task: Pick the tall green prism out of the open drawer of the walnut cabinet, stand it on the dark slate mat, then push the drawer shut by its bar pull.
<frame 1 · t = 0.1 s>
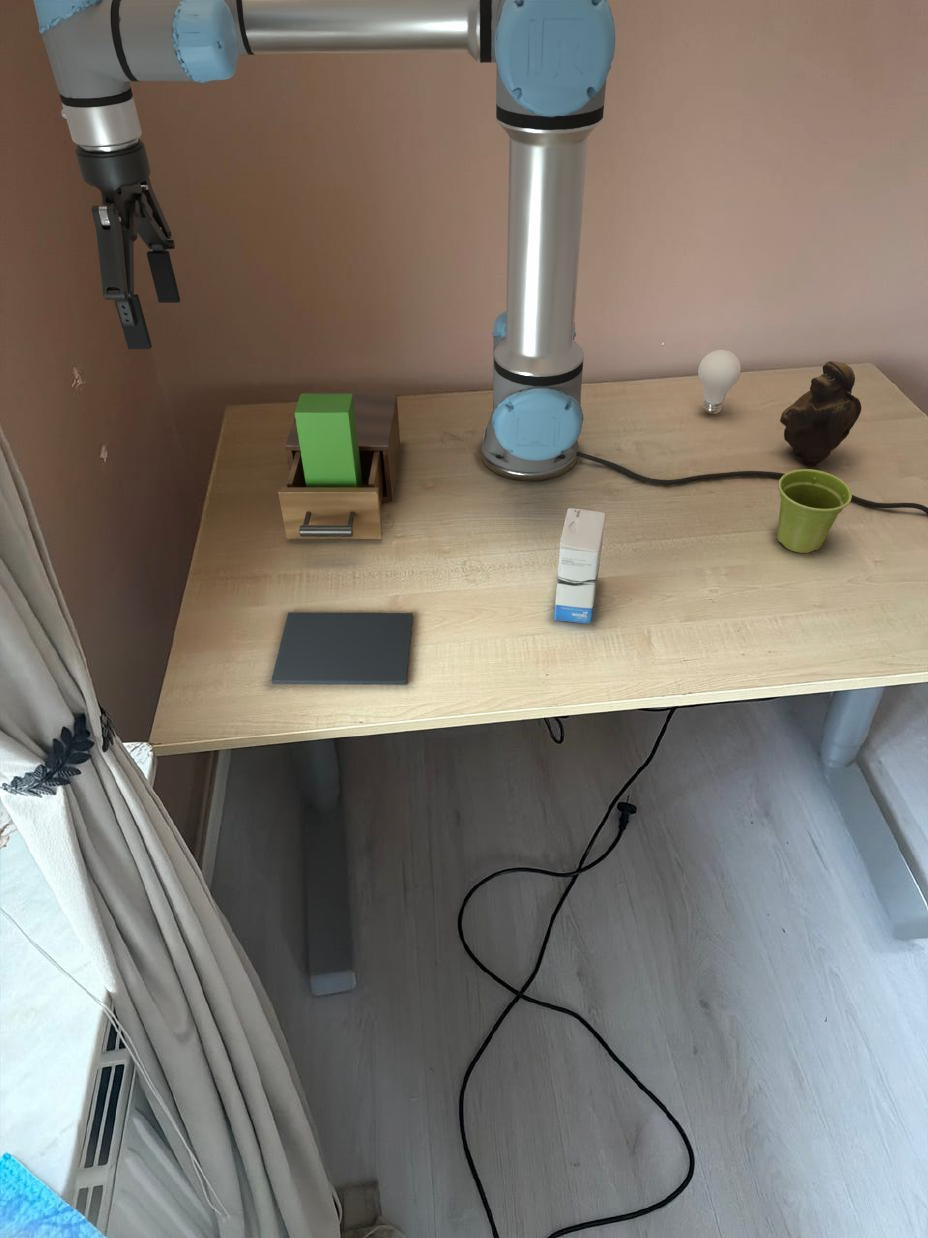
hand: (155, 323, 115), 28 cm above the table, tool pointing down, fingers open, 13 cm apart
ink box: (575, 602, 116), on the table
cabinet: (349, 472, 139), on the table
tall green prism: (338, 509, 129), point 2 cm above the table, touching drawer
light bulb: (710, 413, 151), on the table
drawer: (335, 495, 126), point 5 cm above the table, slide at 9.0 cm, touching tall green prism
plant pot: (799, 541, 125), on the table
sculpture: (810, 459, 140), on the table
slate mat: (345, 648, 110), on the table
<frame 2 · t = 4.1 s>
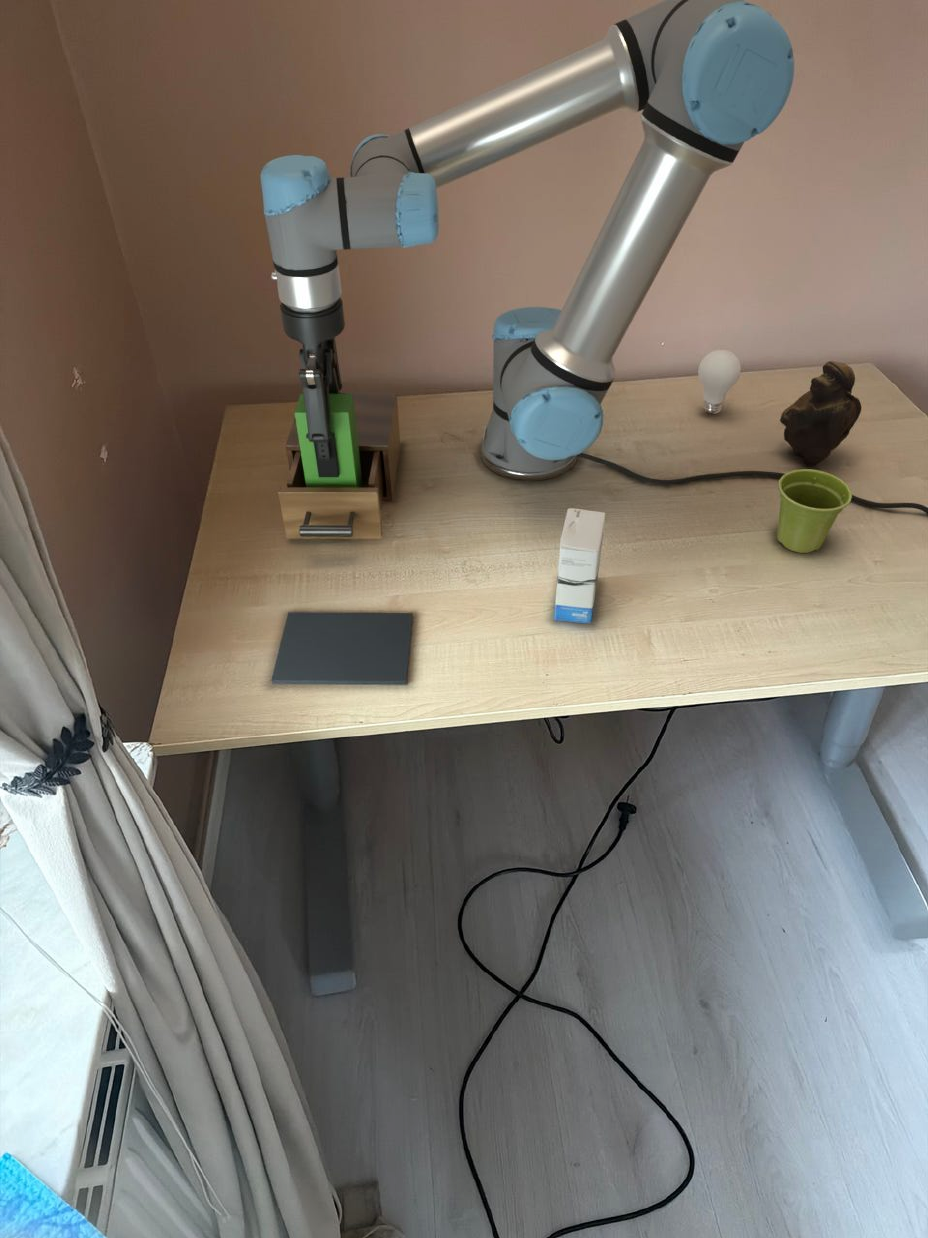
hand: (332, 459, 124), 10 cm above the table, tool pointing down, fingers open, 7 cm apart
nothing on the table moved.
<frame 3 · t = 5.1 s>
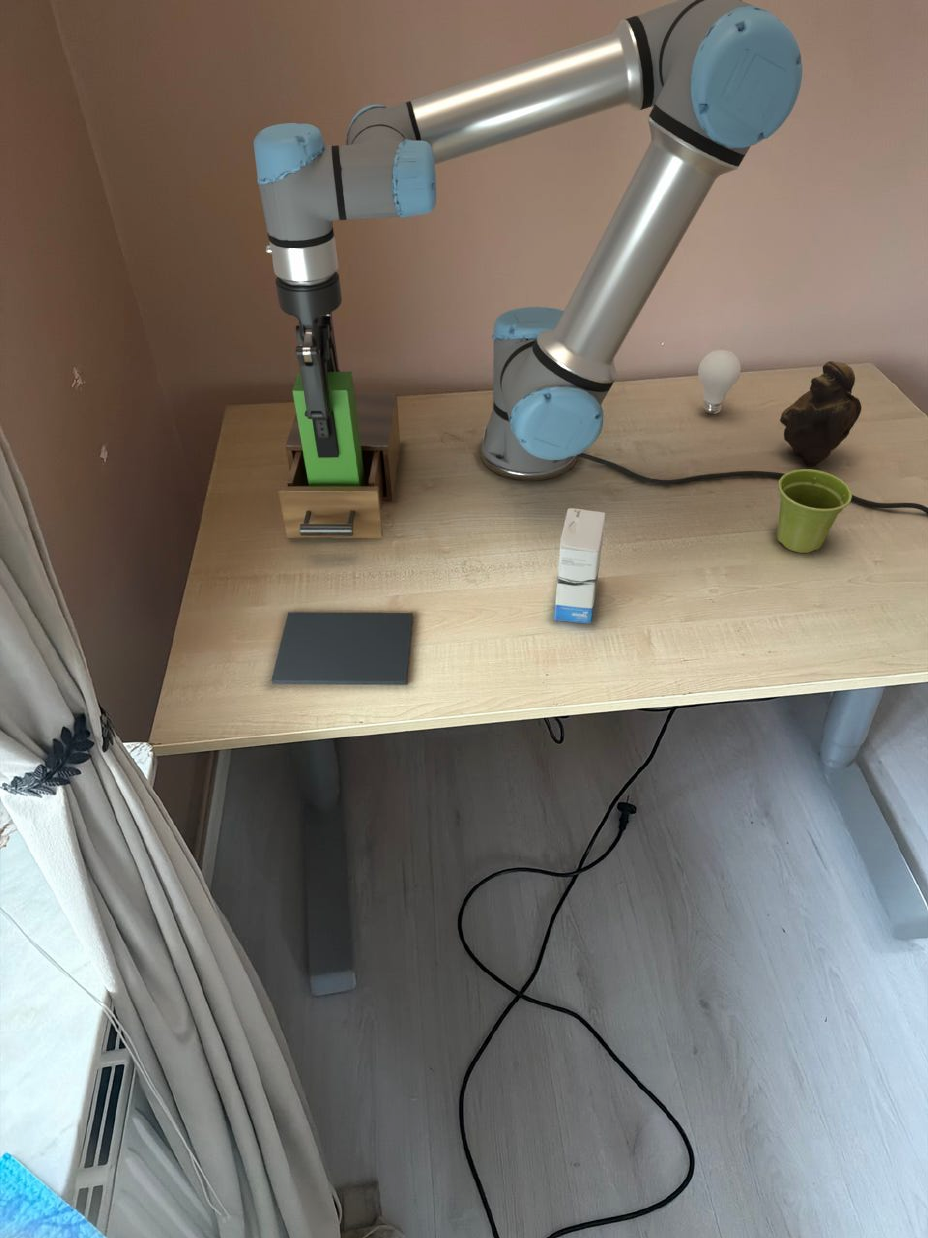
hand: (331, 444, 121), 13 cm above the table, tool pointing down, fingers closed on tall green prism, 5 cm apart
tall green prism: (338, 490, 127), point 5 cm above the table, touching gripper
drawer: (335, 494, 127), point 5 cm above the table, slide at 8.7 cm
everything else where it was.
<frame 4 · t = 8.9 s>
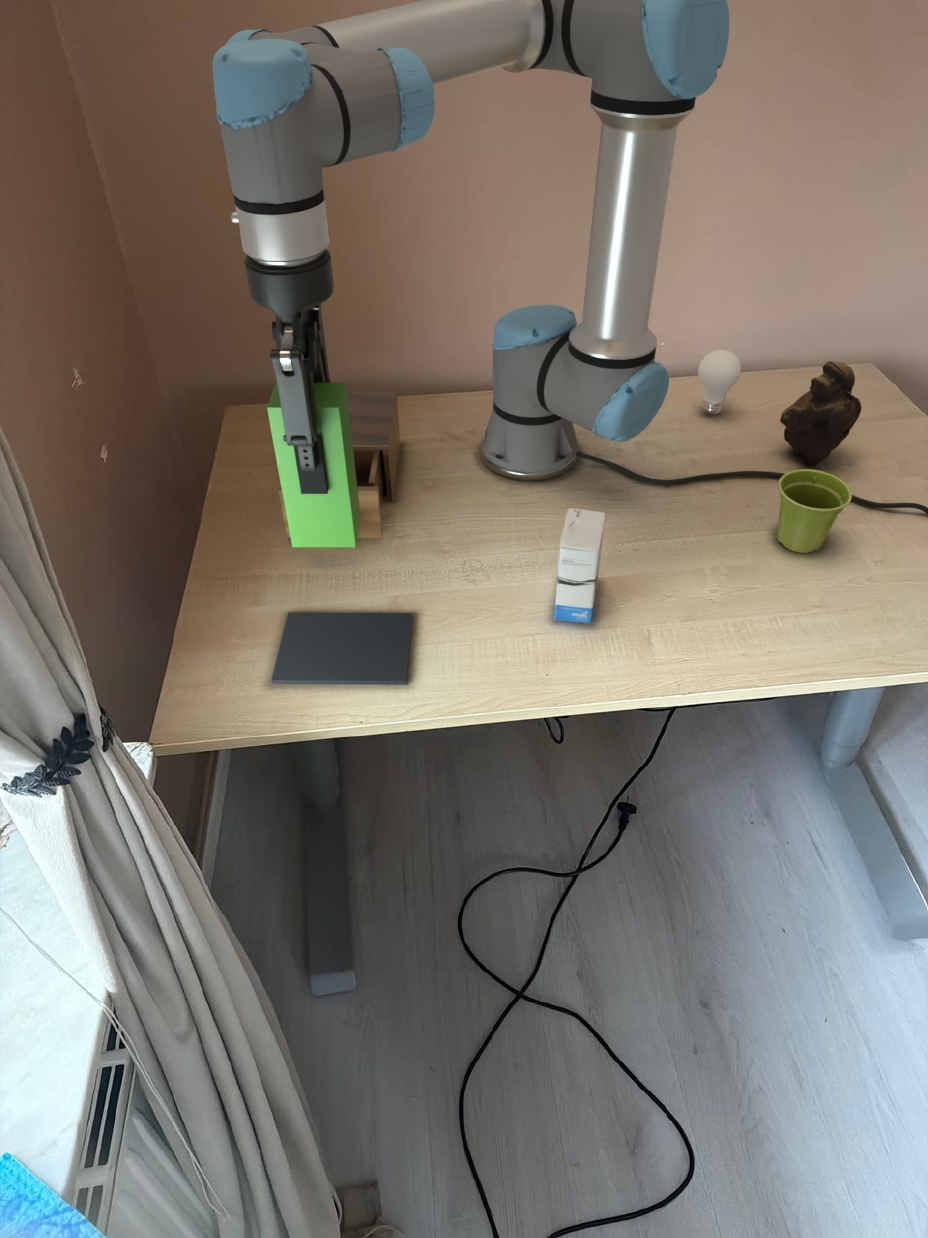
hand: (318, 475, 94), 25 cm above the table, tool pointing down, fingers closed on tall green prism, 5 cm apart
tall green prism: (327, 533, 99), point 17 cm above the table, touching gripper
everything else where it was.
when the fingers open (8 cm above the table, at t = 12.7 s): tall green prism stays where it is, resting on slate mat.
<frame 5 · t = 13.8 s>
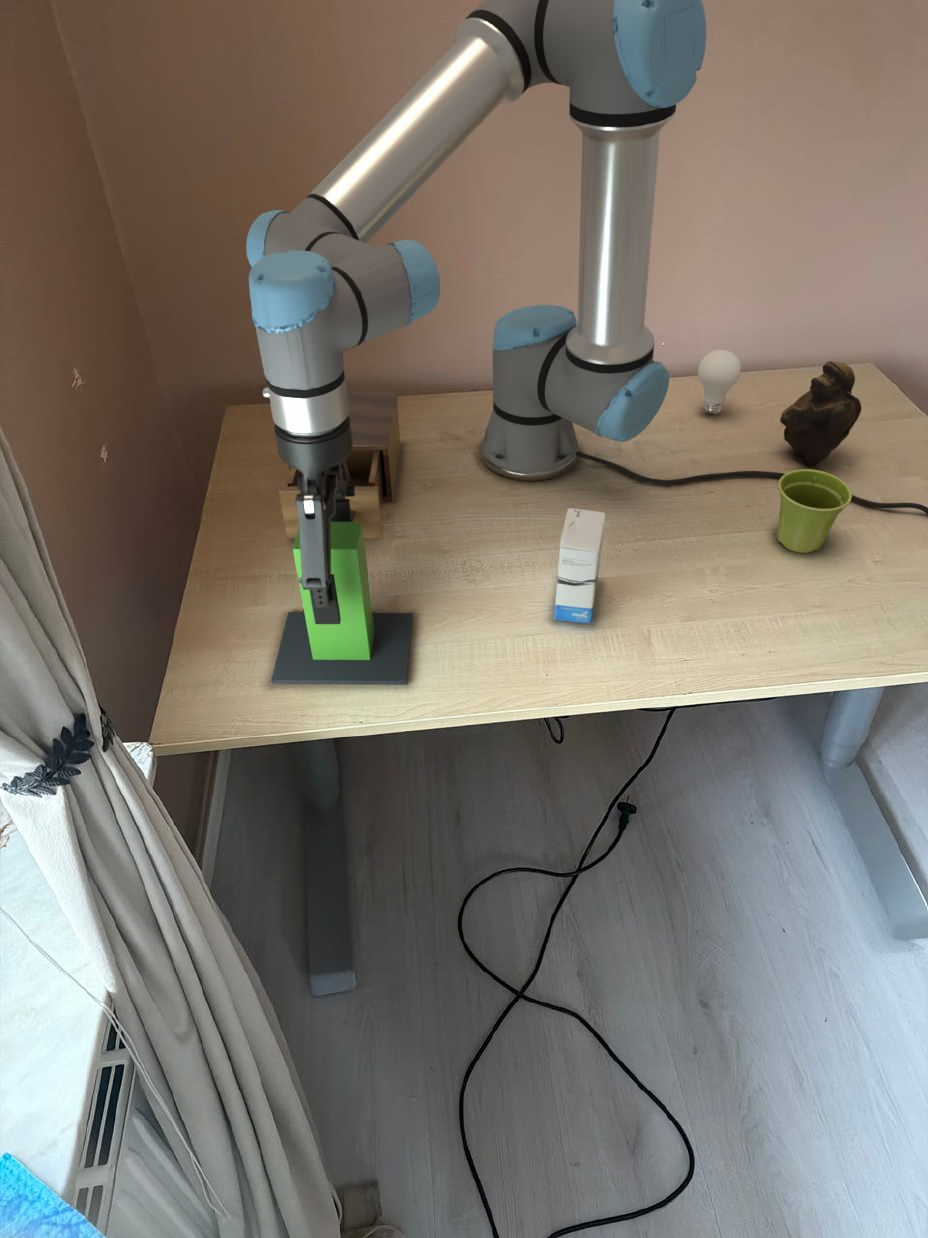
hand: (336, 582, 103), 11 cm above the table, tool pointing down, fingers open, 13 cm apart
tall green prism: (344, 645, 110), point 1 cm above the table, touching slate mat
everything else where it was.
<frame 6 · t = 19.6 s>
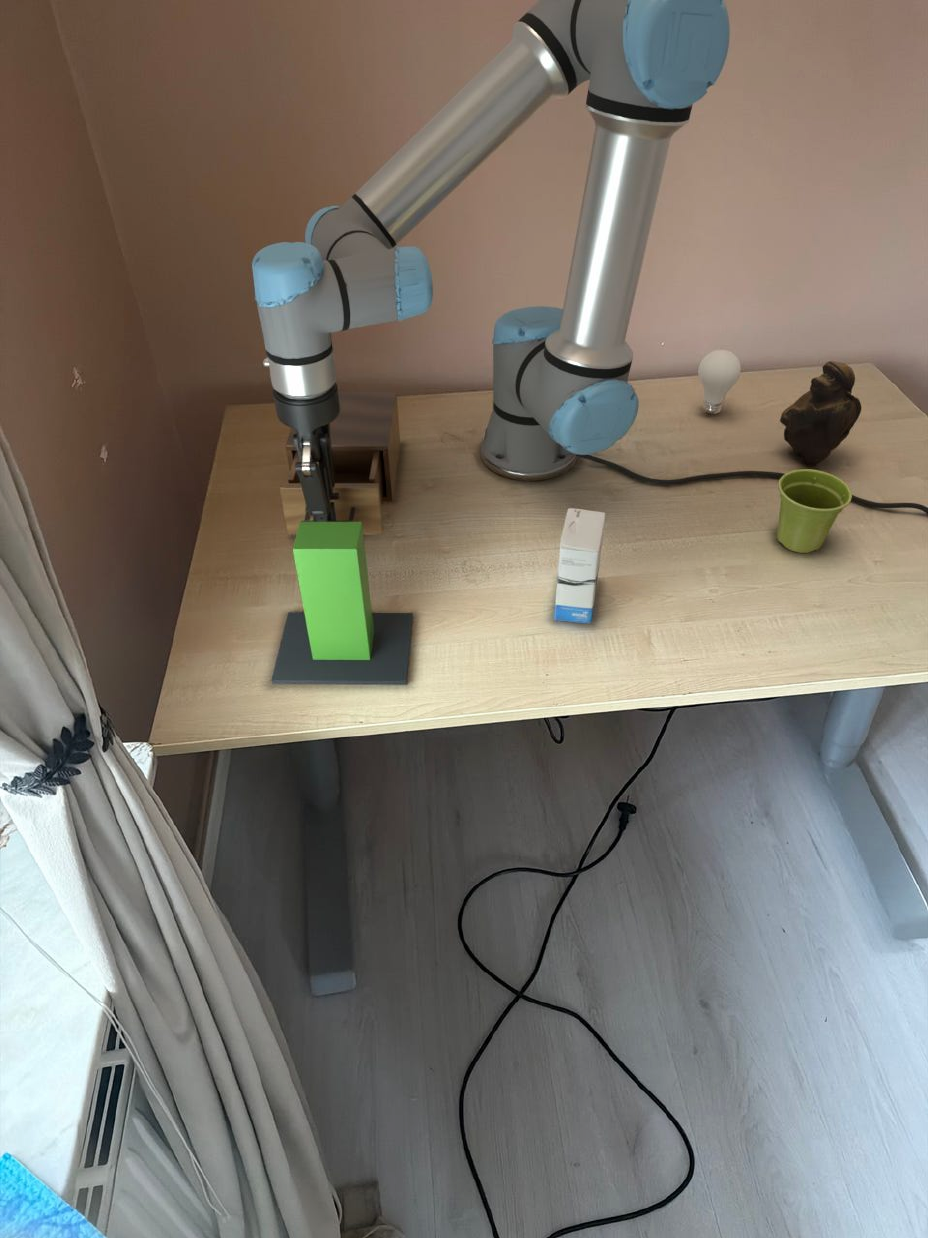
hand: (328, 544, 120), 3 cm above the table, tool pointing down, fingers closed
drawer: (336, 491, 127), point 5 cm above the table, slide at 8.0 cm, touching gripper
everything else where it was.
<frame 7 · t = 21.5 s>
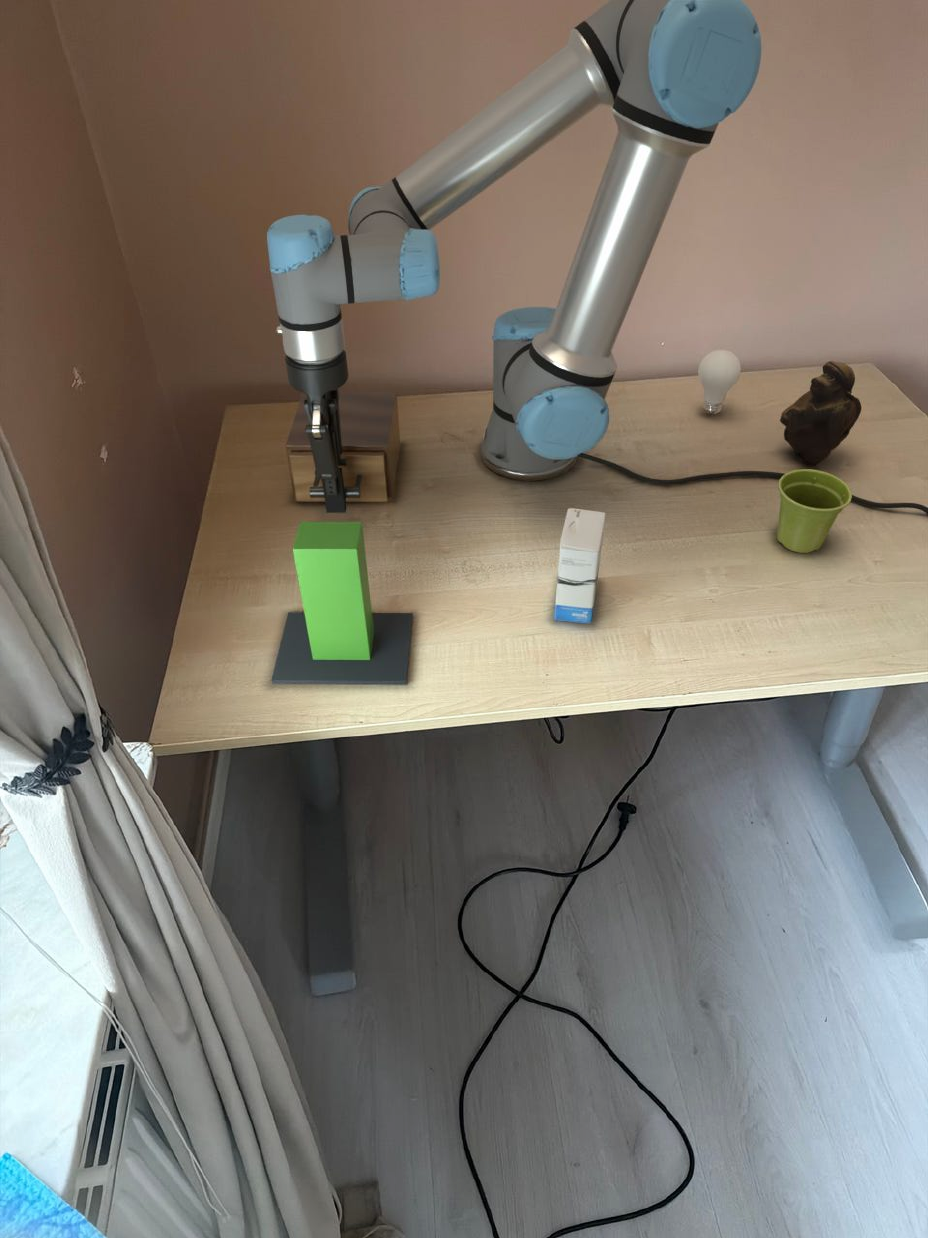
hand: (336, 509, 126), 3 cm above the table, tool pointing down, fingers closed
drawer: (343, 460, 133), point 5 cm above the table, slide at 0.0 cm, touching cabinet, gripper
everything else where it was.
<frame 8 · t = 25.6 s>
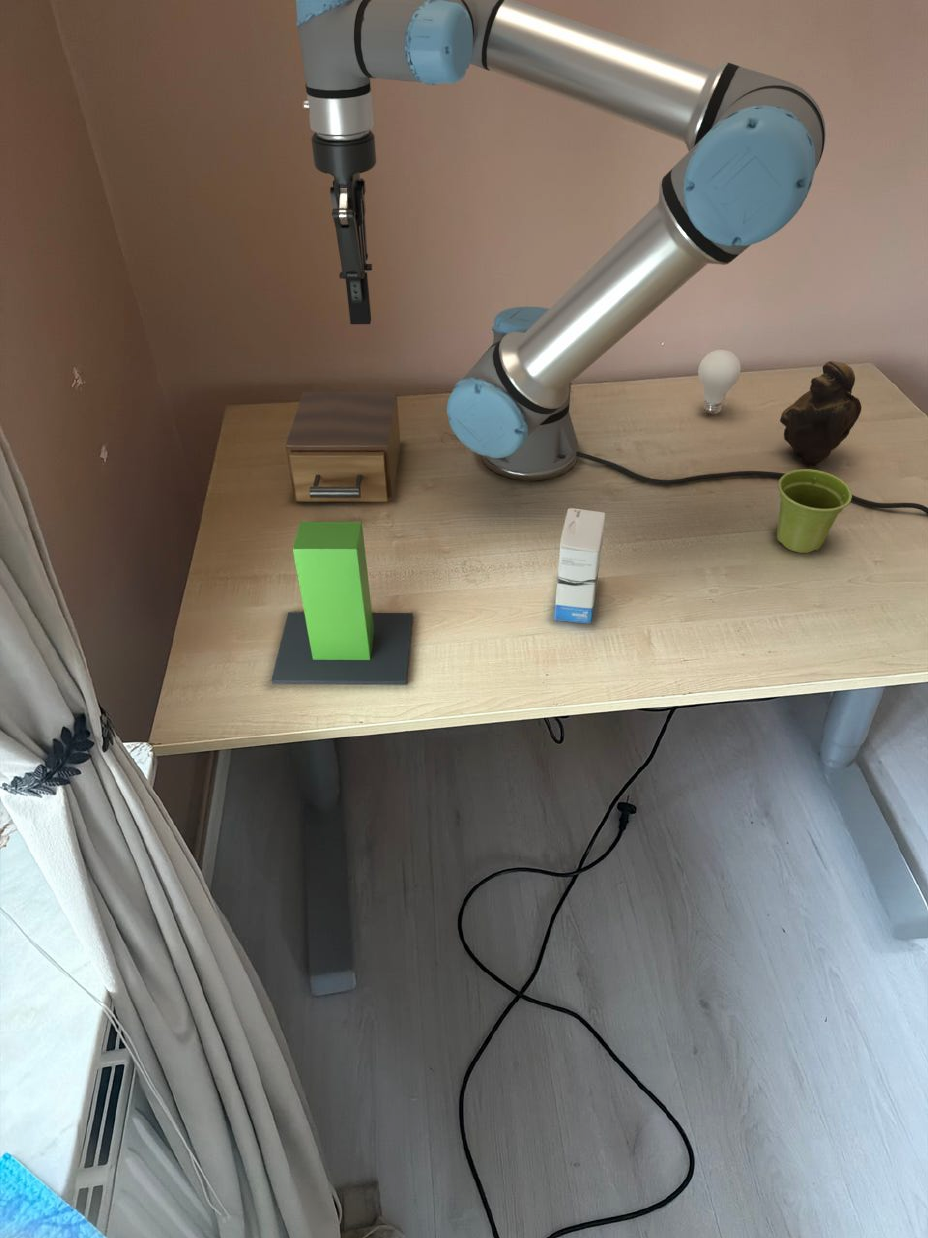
hand: (360, 321, 123), 24 cm above the table, tool pointing down, fingers closed
drawer: (343, 460, 133), point 5 cm above the table, slide at 0.0 cm
everything else where it was.
at the end: tall green prism inside the target area on the slate mat (0.1 cm from its centre), point 0.6 cm above the slate mat's base; the gripper is holding nothing; drawer slide at 0.0 cm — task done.
